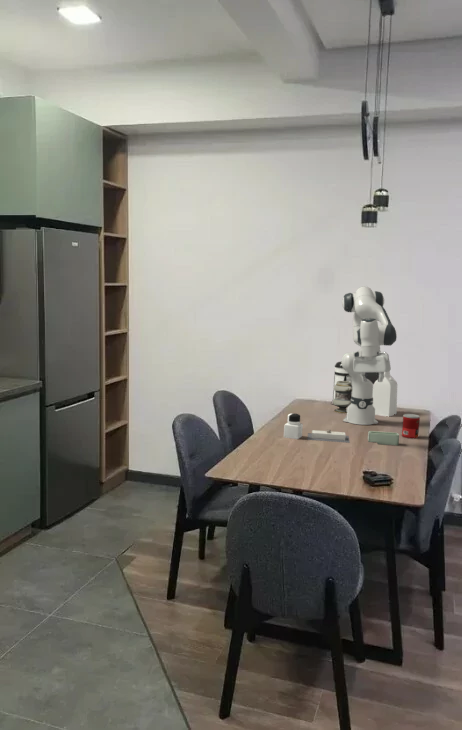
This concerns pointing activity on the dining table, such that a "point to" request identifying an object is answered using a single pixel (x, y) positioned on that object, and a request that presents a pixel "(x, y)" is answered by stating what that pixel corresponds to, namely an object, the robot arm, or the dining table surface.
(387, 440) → the pale green open box
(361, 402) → the robot arm
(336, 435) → the lid
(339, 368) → the coffee press
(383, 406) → the milk
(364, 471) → the dining table surface
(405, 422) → the canned food
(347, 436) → the mat
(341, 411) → the apothecary jar
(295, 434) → the medicine bottle
